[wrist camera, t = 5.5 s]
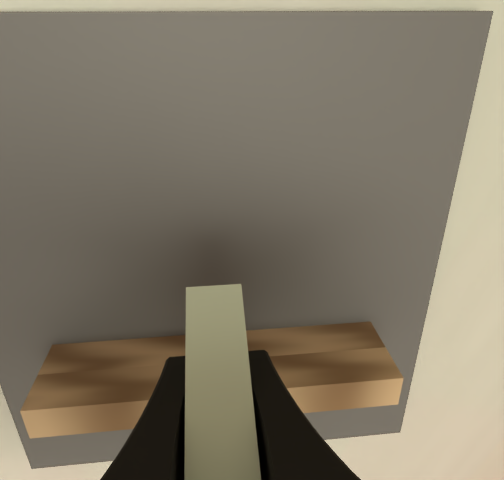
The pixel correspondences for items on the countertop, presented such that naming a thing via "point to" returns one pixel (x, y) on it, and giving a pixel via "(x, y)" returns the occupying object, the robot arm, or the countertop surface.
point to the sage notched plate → (218, 387)
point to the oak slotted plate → (161, 348)
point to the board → (224, 181)
